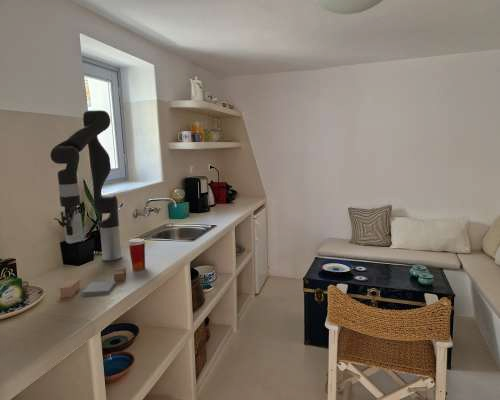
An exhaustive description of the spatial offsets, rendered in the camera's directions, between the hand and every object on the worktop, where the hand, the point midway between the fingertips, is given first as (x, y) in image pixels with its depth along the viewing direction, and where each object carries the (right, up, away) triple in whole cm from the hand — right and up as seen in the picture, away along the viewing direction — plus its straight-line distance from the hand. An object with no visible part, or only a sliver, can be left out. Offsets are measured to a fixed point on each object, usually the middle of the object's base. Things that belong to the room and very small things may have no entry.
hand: (73, 232), depth 146 cm
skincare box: (0, -4, +1) cm, 4 cm away
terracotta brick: (+4, -23, -10) cm, 26 cm away
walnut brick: (+19, -21, +4) cm, 28 cm away
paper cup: (+23, -19, +16) cm, 33 cm away
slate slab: (+15, -23, -8) cm, 28 cm away
